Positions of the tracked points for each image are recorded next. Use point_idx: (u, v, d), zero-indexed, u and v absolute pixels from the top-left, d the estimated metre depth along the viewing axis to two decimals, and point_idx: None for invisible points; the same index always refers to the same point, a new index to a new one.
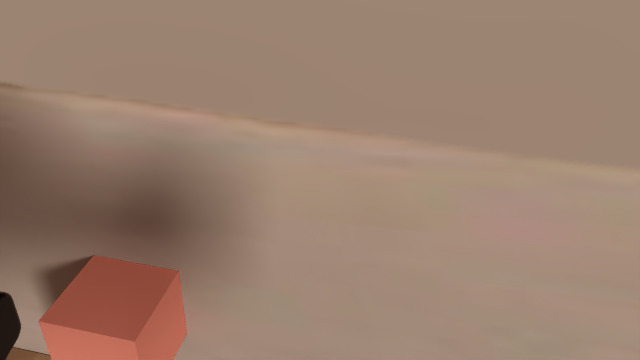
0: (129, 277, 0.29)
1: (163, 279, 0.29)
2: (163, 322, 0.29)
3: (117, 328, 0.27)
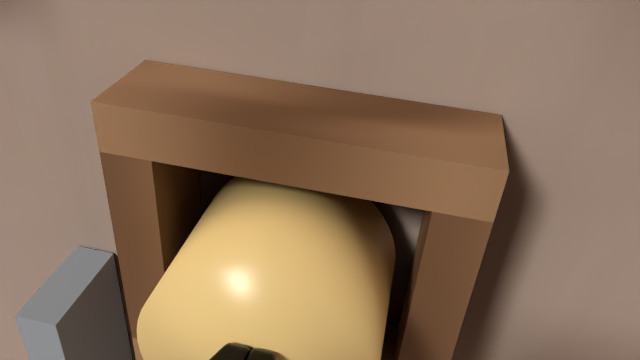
0: None
1: None
2: None
3: None
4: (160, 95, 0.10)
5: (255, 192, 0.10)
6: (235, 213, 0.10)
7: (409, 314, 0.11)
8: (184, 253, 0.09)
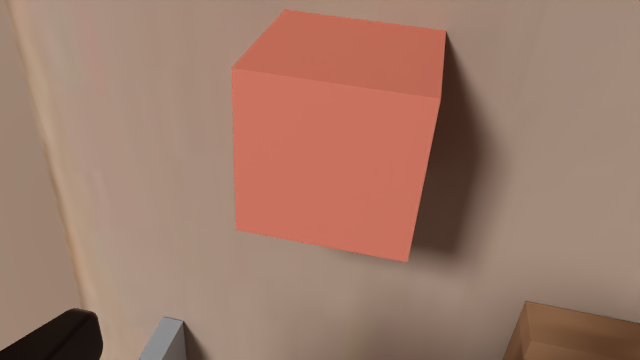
0: None
1: None
2: (316, 40, 0.15)
3: None
4: (556, 333, 0.20)
5: None
6: None
7: None
8: None
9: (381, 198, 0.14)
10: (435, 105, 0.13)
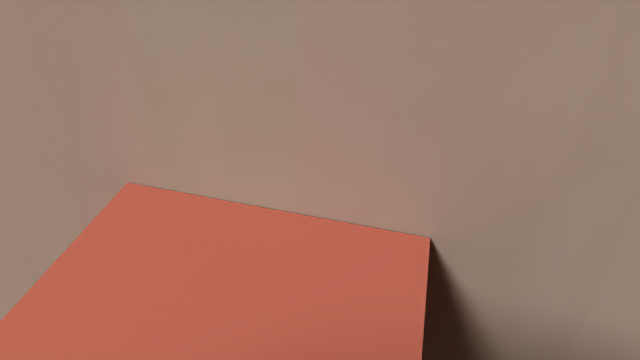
0: None
1: None
2: (145, 303, 0.07)
3: None
4: None
5: None
6: None
7: None
8: None
9: None
10: None
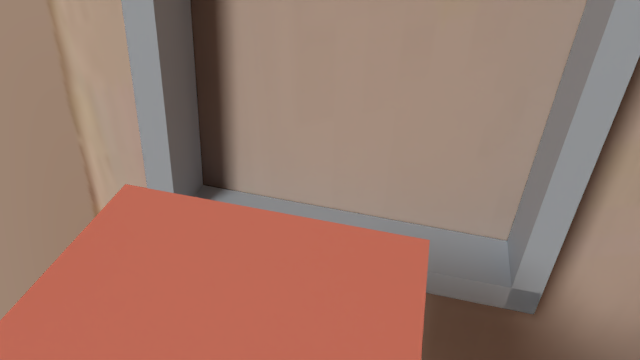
0: None
1: None
2: (143, 306, 0.07)
3: None
4: None
5: None
6: None
7: None
8: None
9: None
10: None
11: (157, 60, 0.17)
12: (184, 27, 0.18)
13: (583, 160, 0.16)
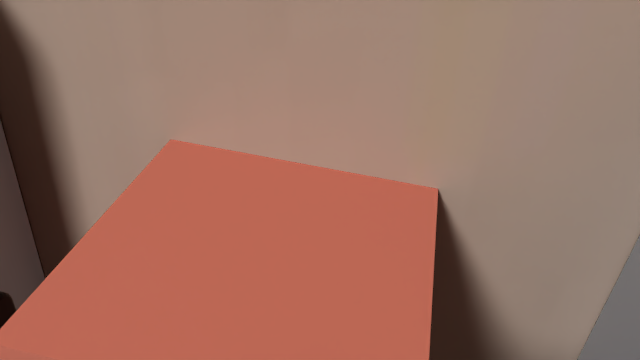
0: None
1: None
2: (199, 229, 0.08)
3: None
4: None
5: None
6: None
7: None
8: None
9: None
10: None
11: None
12: None
13: None
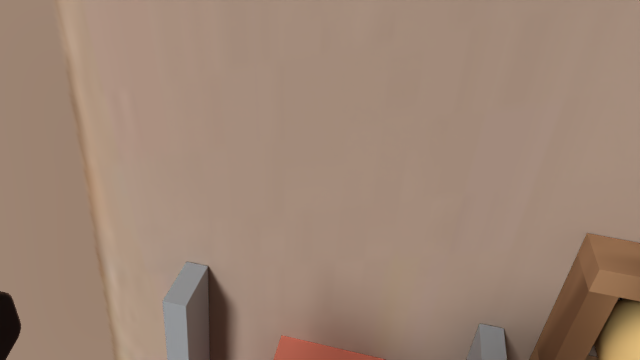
0: None
1: None
2: None
3: None
4: (624, 263, 0.19)
5: None
6: None
7: None
8: None
9: None
10: None
11: None
12: (204, 341, 0.27)
13: None
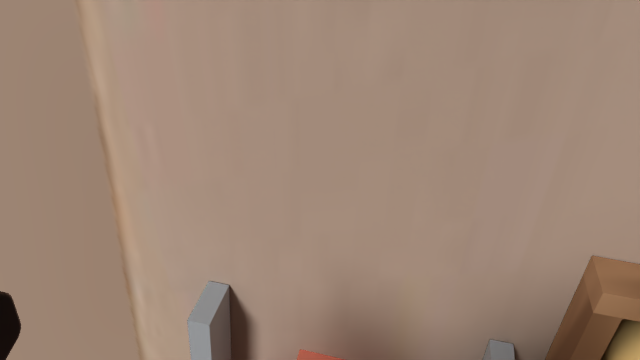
0: None
1: None
2: None
3: None
4: (627, 285, 0.20)
5: None
6: None
7: None
8: None
9: None
10: None
11: None
12: (227, 355, 0.28)
13: None
